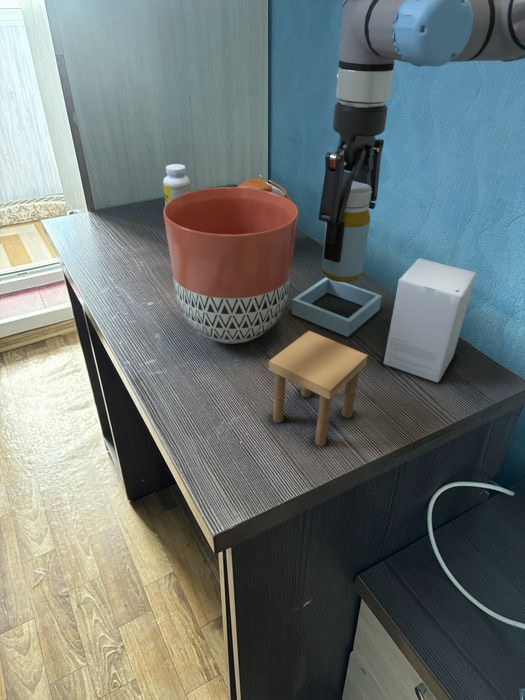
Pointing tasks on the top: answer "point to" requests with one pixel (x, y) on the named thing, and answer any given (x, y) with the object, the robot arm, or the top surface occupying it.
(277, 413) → the stool
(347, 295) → the square tray frame
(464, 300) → the rectangular carton
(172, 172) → the pill bottle
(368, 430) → the top surface
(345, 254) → the bottle
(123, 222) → the top surface
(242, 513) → the top surface
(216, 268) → the planter
